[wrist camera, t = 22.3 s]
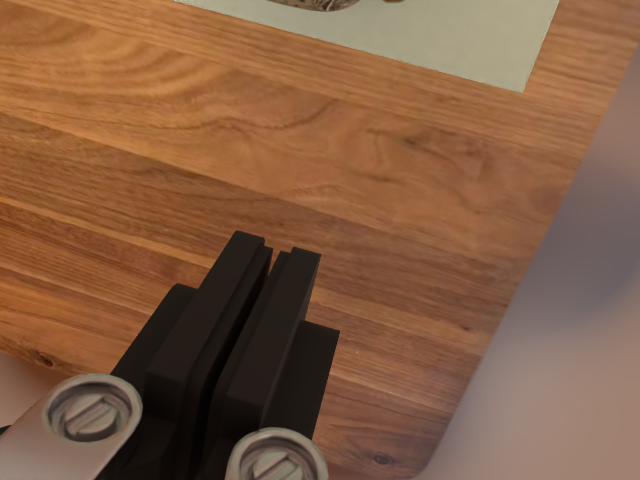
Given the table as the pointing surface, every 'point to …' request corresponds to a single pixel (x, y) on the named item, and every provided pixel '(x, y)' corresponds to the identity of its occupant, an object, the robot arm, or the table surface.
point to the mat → (421, 32)
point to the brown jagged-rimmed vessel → (324, 4)
